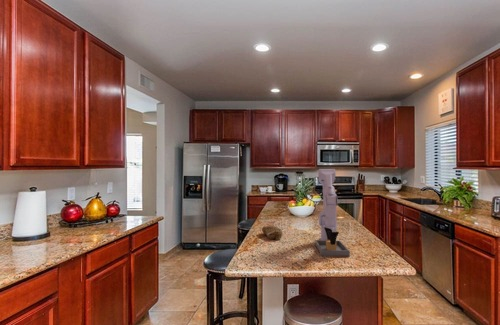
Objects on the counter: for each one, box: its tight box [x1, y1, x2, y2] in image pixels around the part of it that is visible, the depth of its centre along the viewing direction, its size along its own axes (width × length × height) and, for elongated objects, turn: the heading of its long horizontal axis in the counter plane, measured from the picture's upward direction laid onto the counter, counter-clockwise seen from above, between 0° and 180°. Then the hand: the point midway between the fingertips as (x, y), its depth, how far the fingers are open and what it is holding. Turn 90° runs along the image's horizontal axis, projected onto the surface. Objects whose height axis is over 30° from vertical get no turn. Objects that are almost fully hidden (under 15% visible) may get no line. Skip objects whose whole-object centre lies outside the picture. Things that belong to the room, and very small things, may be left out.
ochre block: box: [326, 240, 336, 250], centre depth 157 cm, size 5×5×5 cm
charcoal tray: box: [314, 239, 351, 258], centre depth 157 cm, size 20×14×3 cm
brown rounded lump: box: [261, 225, 283, 241], centre depth 190 cm, size 13×8×20 cm
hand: (331, 242), depth 157 cm, fingers open, 7 cm apart
